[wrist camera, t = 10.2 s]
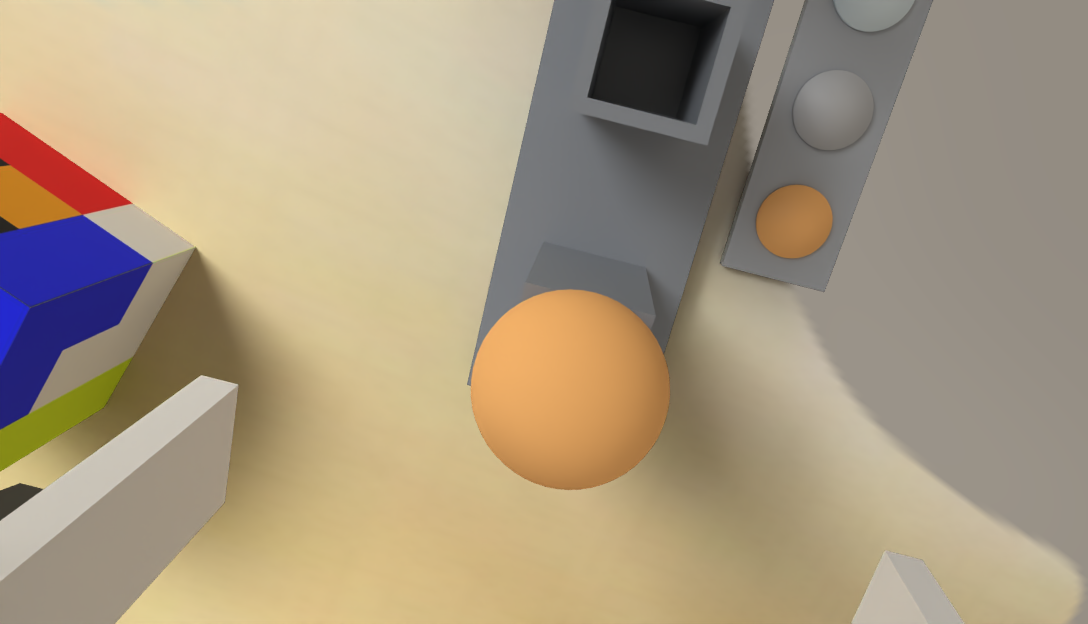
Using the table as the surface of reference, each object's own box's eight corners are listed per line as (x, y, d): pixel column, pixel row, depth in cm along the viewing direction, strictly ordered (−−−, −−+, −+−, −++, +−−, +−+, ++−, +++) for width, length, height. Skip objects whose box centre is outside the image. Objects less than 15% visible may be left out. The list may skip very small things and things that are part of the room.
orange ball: (510, 248, 24) (477, 298, 19) (686, 294, 24) (707, 359, 18) (472, 408, 26) (432, 498, 20) (635, 451, 26) (641, 554, 20)
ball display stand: (652, -418, 25) (671, -644, 17) (881, -362, 25) (1002, -565, 17) (470, 376, 34) (430, 458, 26) (639, 420, 34) (647, 515, 26)
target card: (835, -95, 27) (842, -100, 26) (951, -66, 27) (961, -71, 26) (720, 262, 31) (722, 266, 31) (820, 288, 31) (825, 293, 30)
